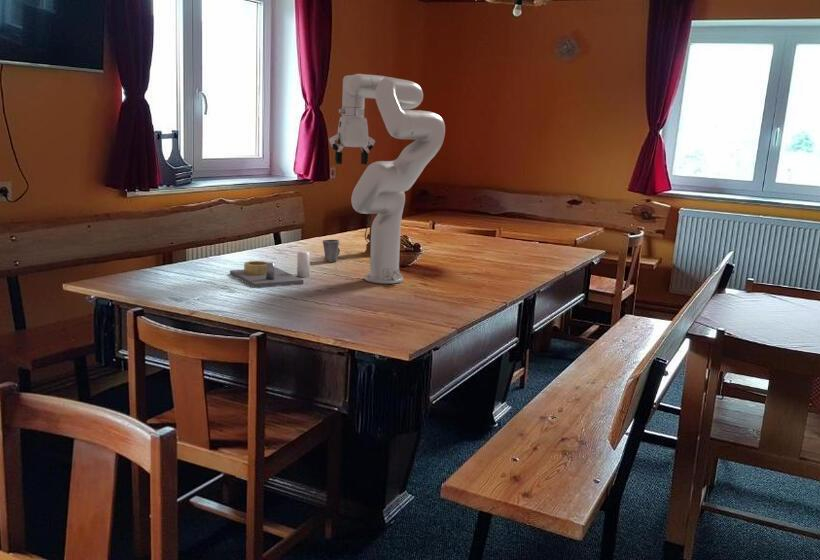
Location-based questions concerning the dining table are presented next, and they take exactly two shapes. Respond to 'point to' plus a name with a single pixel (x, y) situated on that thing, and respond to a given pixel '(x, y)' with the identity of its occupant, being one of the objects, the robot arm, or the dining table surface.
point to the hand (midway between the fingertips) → (351, 164)
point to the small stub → (270, 271)
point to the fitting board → (261, 280)
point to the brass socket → (255, 267)
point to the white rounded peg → (303, 264)
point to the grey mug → (331, 250)
